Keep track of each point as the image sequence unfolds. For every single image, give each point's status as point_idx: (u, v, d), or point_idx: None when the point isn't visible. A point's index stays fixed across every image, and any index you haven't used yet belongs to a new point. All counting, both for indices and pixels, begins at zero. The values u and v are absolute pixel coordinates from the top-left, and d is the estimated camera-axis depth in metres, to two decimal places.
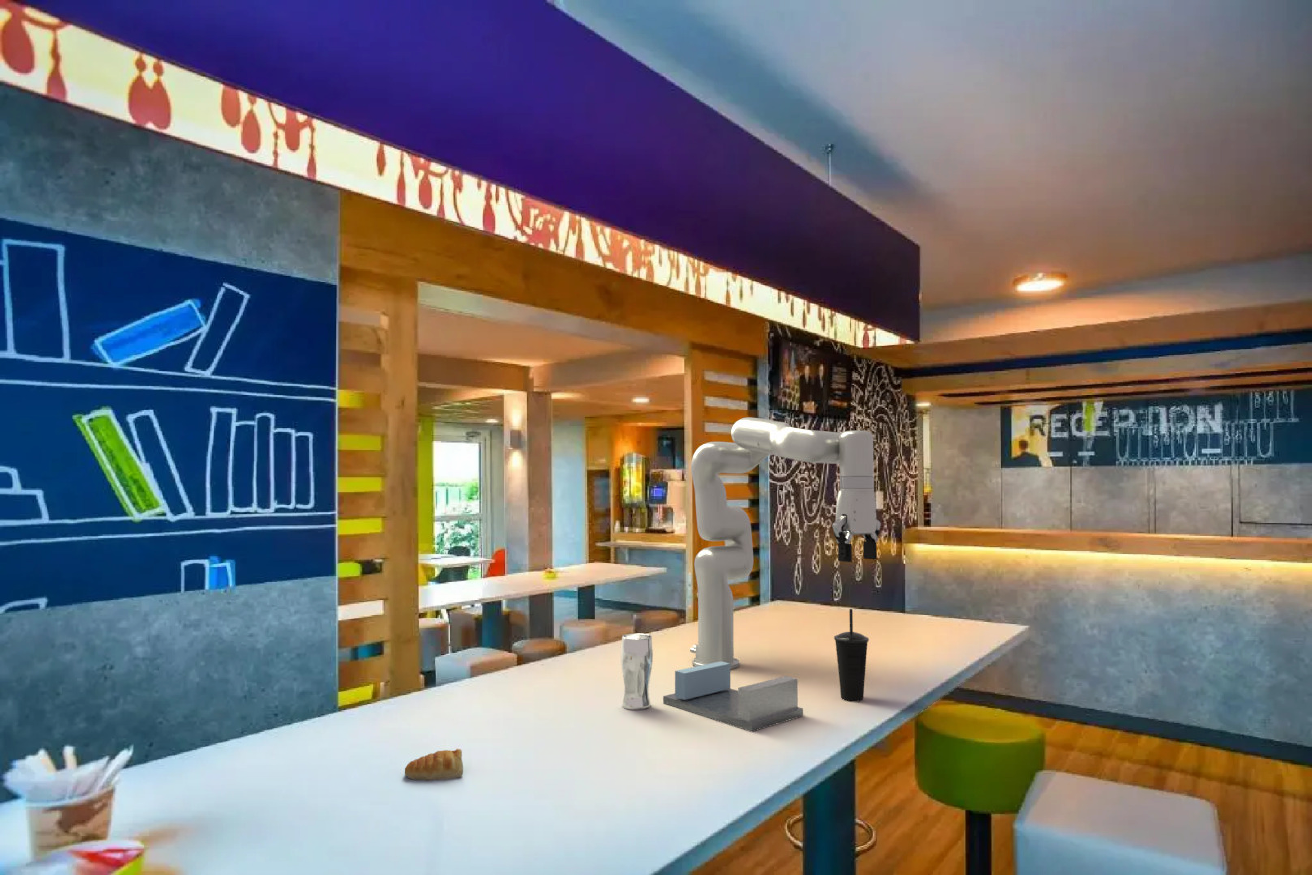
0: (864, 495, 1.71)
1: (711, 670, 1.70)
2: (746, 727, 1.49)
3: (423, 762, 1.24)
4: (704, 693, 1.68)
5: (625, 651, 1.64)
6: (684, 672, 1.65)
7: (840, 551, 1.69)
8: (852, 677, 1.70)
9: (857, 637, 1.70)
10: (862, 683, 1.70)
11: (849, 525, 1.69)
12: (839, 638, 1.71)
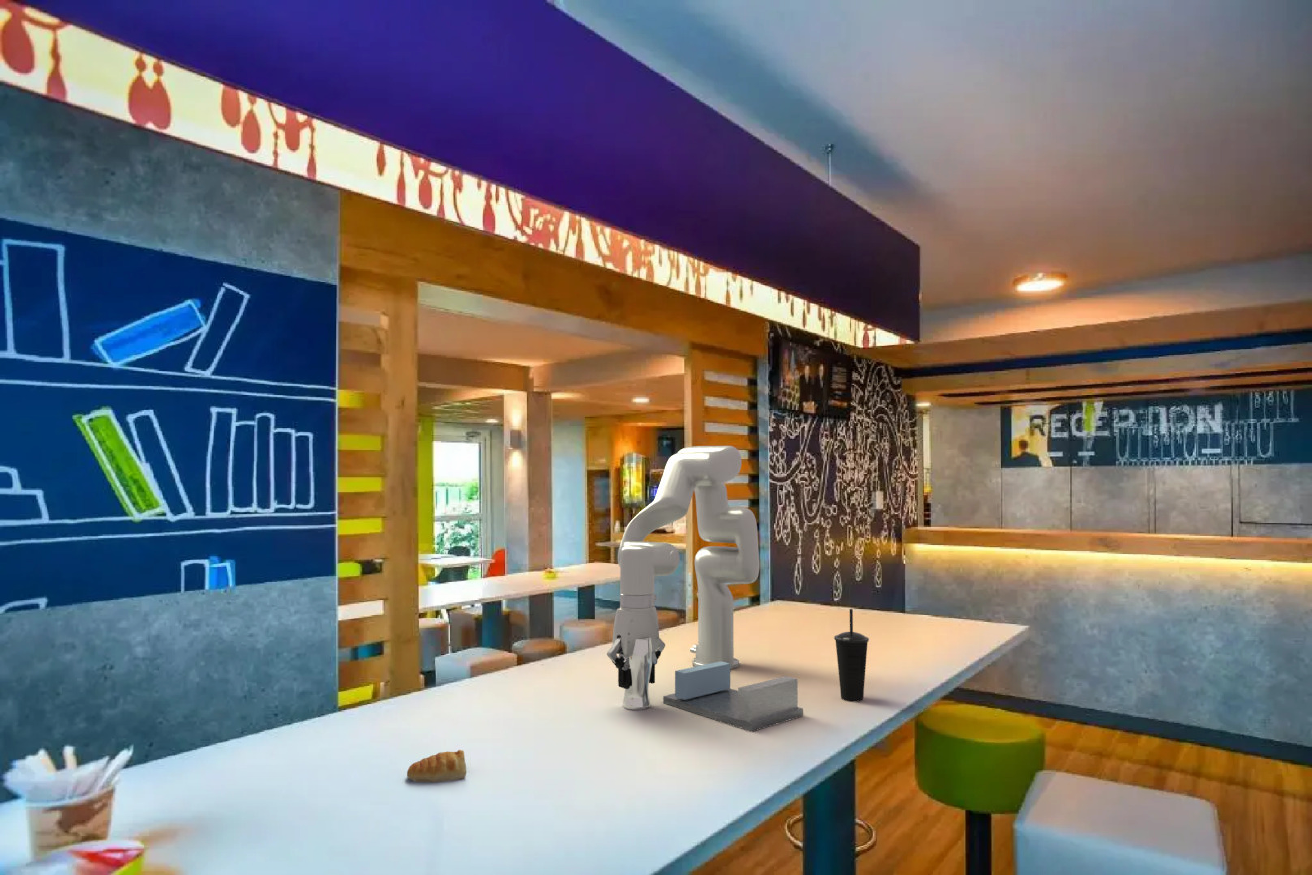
0: (641, 615, 1.64)
1: (711, 670, 1.70)
2: (746, 727, 1.49)
3: (426, 763, 1.23)
4: (704, 693, 1.68)
5: None
6: (684, 672, 1.65)
7: (619, 677, 1.63)
8: (852, 677, 1.70)
9: (857, 637, 1.70)
10: (862, 683, 1.70)
11: (623, 647, 1.62)
12: (839, 638, 1.71)
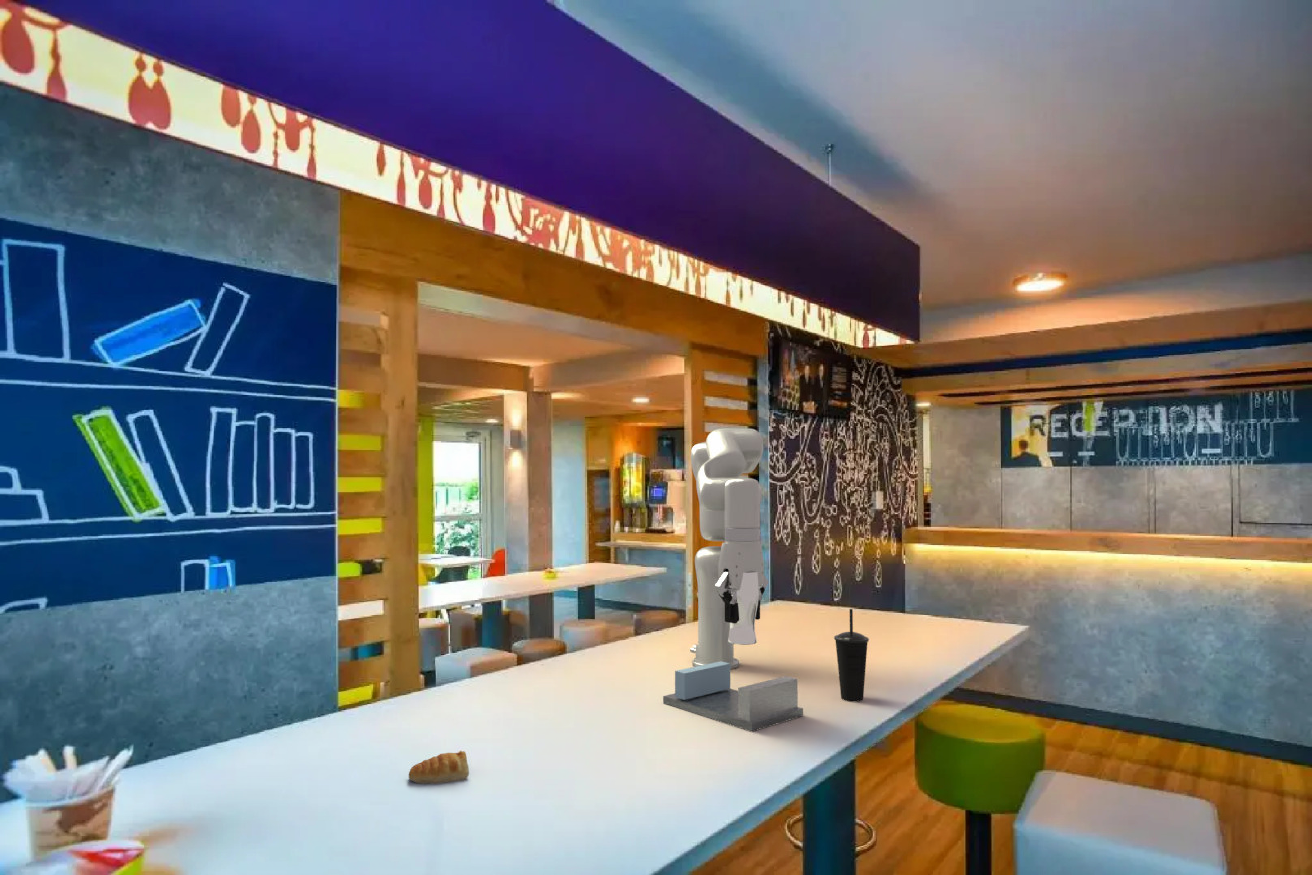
0: (748, 548, 1.61)
1: (711, 670, 1.70)
2: (746, 727, 1.49)
3: (428, 765, 1.23)
4: (704, 693, 1.68)
5: None
6: (684, 672, 1.65)
7: (726, 611, 1.60)
8: (852, 677, 1.70)
9: (857, 637, 1.70)
10: (862, 683, 1.70)
11: (730, 581, 1.58)
12: (839, 638, 1.71)
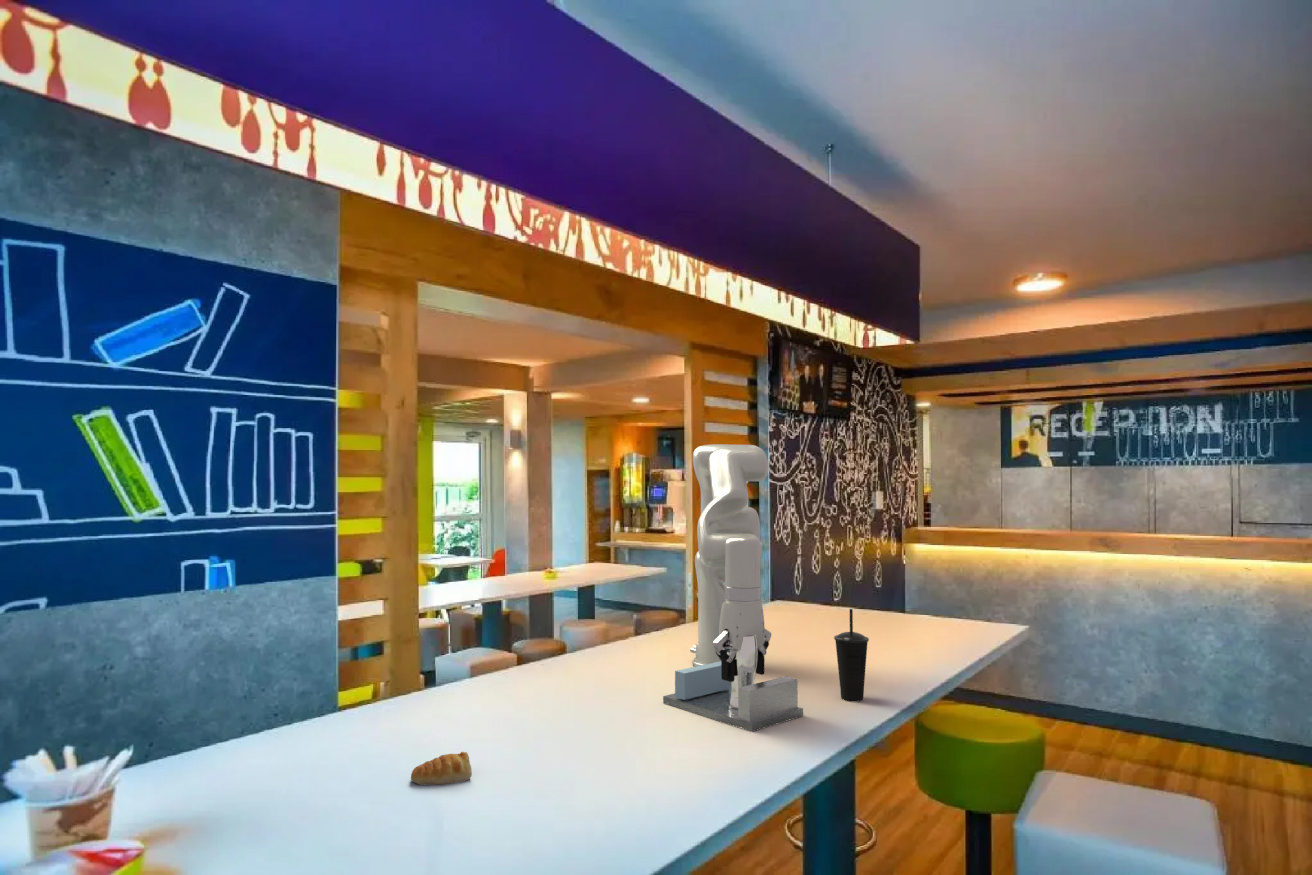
0: (749, 608, 1.60)
1: (711, 670, 1.70)
2: (746, 727, 1.49)
3: (431, 766, 1.22)
4: (704, 693, 1.68)
5: None
6: (684, 672, 1.65)
7: (722, 669, 1.58)
8: (852, 677, 1.70)
9: (857, 637, 1.70)
10: (862, 683, 1.70)
11: (731, 641, 1.57)
12: (839, 638, 1.71)
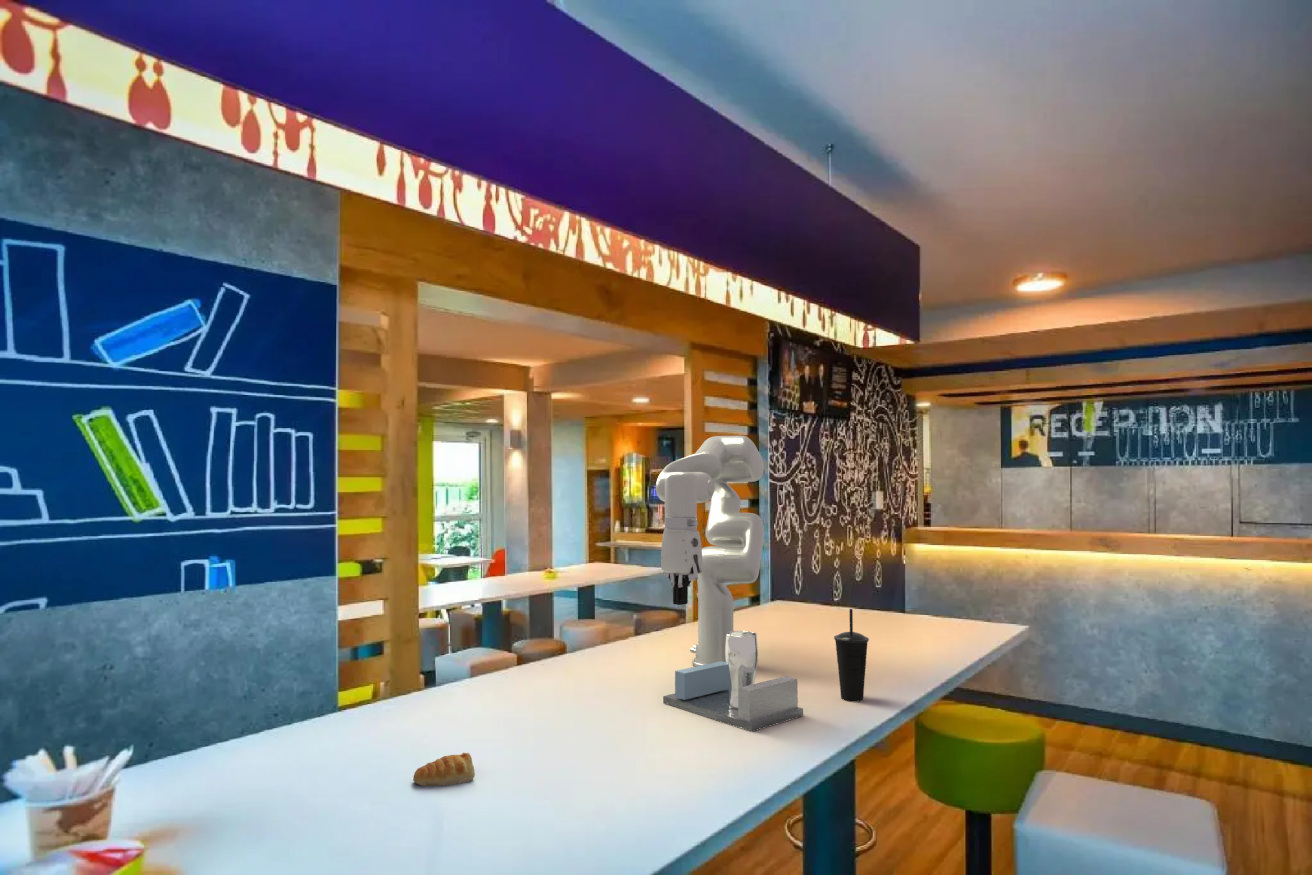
0: (670, 535, 1.77)
1: (711, 670, 1.70)
2: (746, 727, 1.49)
3: (434, 768, 1.21)
4: (704, 693, 1.68)
5: (731, 648, 1.59)
6: (684, 672, 1.65)
7: None
8: (852, 677, 1.70)
9: (857, 637, 1.70)
10: (862, 683, 1.70)
11: None
12: (839, 638, 1.71)
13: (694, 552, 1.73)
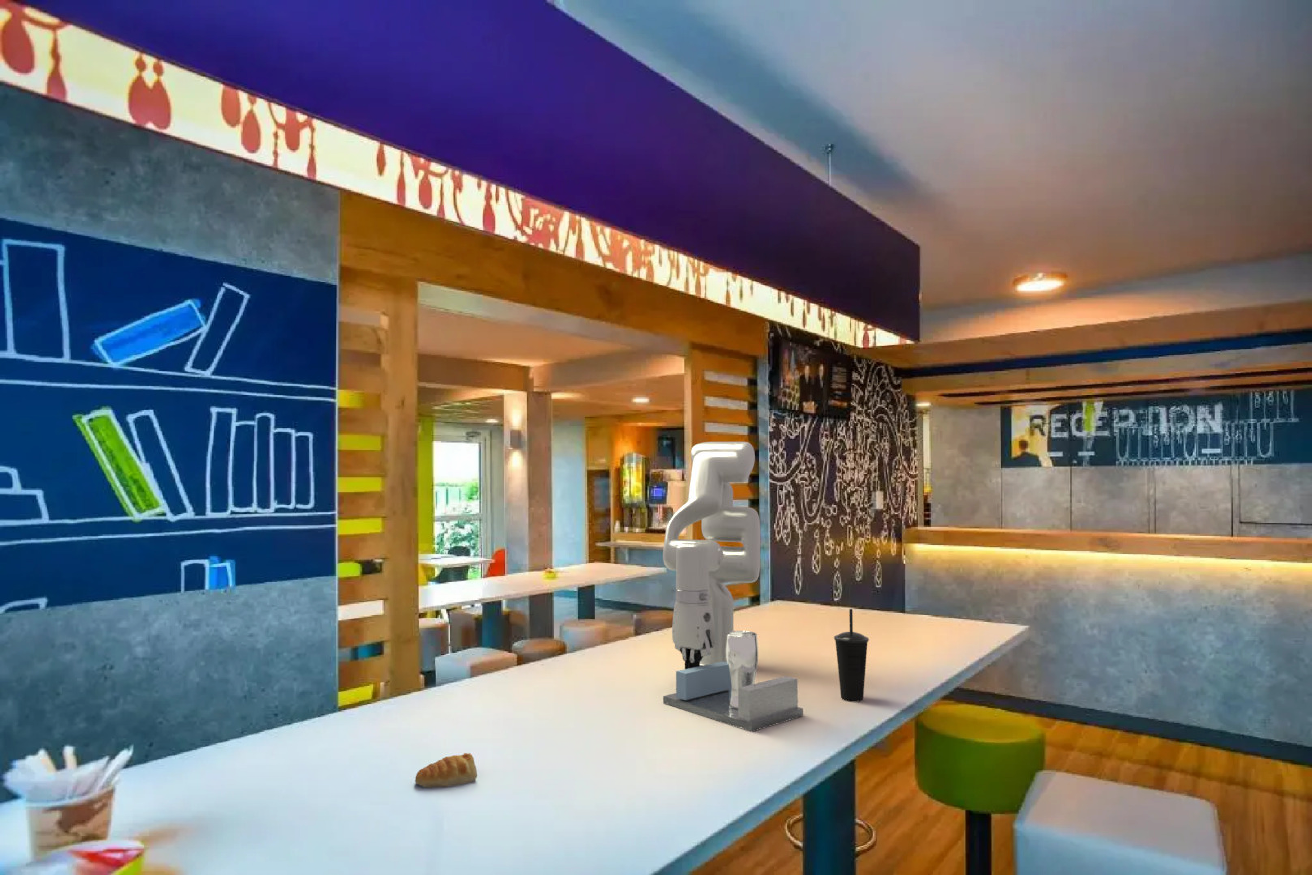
0: (682, 609, 1.73)
1: (712, 671, 1.69)
2: (746, 727, 1.49)
3: (436, 769, 1.21)
4: (705, 693, 1.68)
5: (731, 648, 1.59)
6: (685, 672, 1.65)
7: None
8: (852, 677, 1.70)
9: (857, 637, 1.70)
10: (862, 683, 1.70)
11: None
12: (839, 638, 1.71)
13: (706, 627, 1.69)
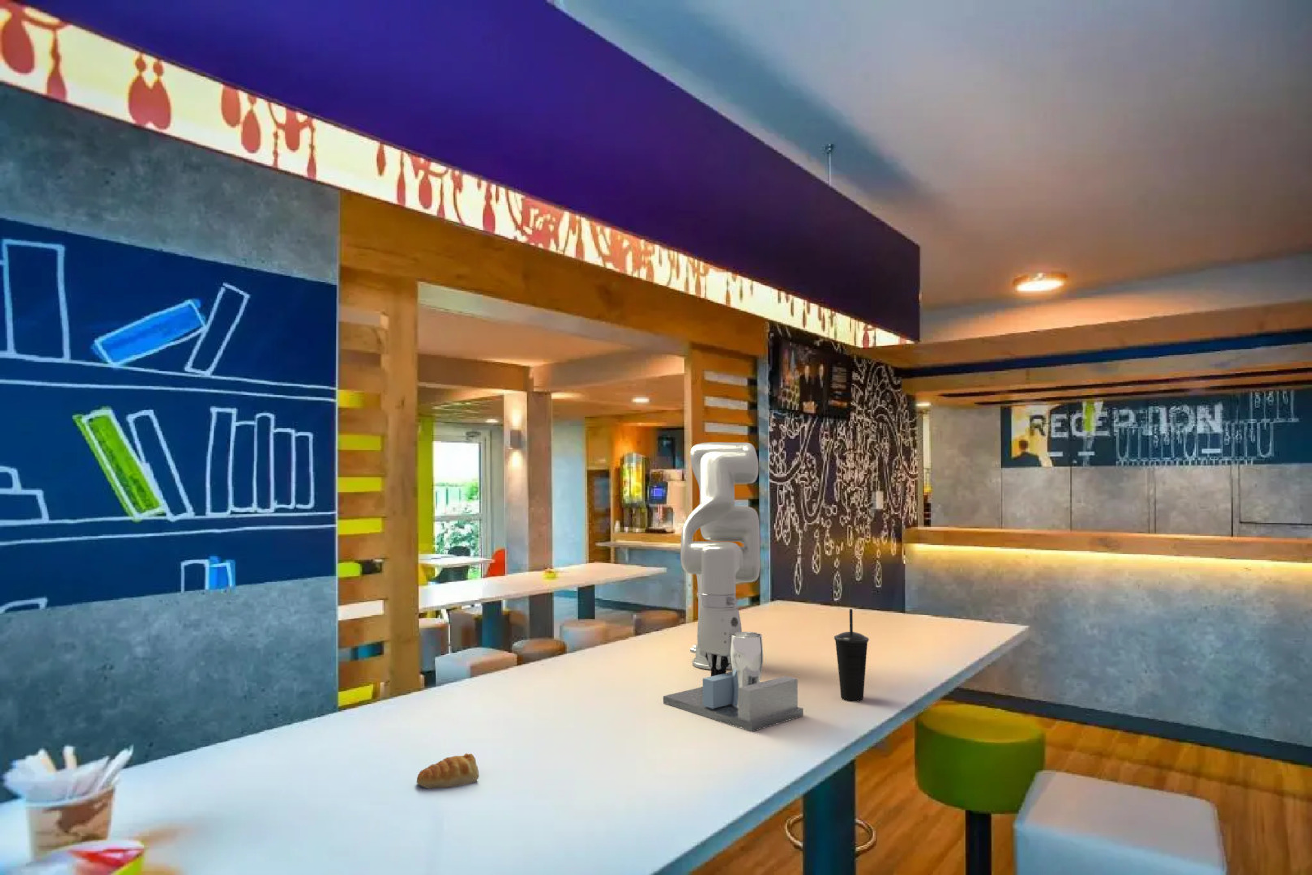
0: (708, 613, 1.66)
1: None
2: (746, 727, 1.49)
3: (438, 769, 1.21)
4: None
5: (736, 650, 1.58)
6: (712, 680, 1.59)
7: None
8: (852, 677, 1.70)
9: (857, 637, 1.70)
10: (862, 683, 1.70)
11: None
12: (839, 638, 1.71)
13: (733, 632, 1.63)
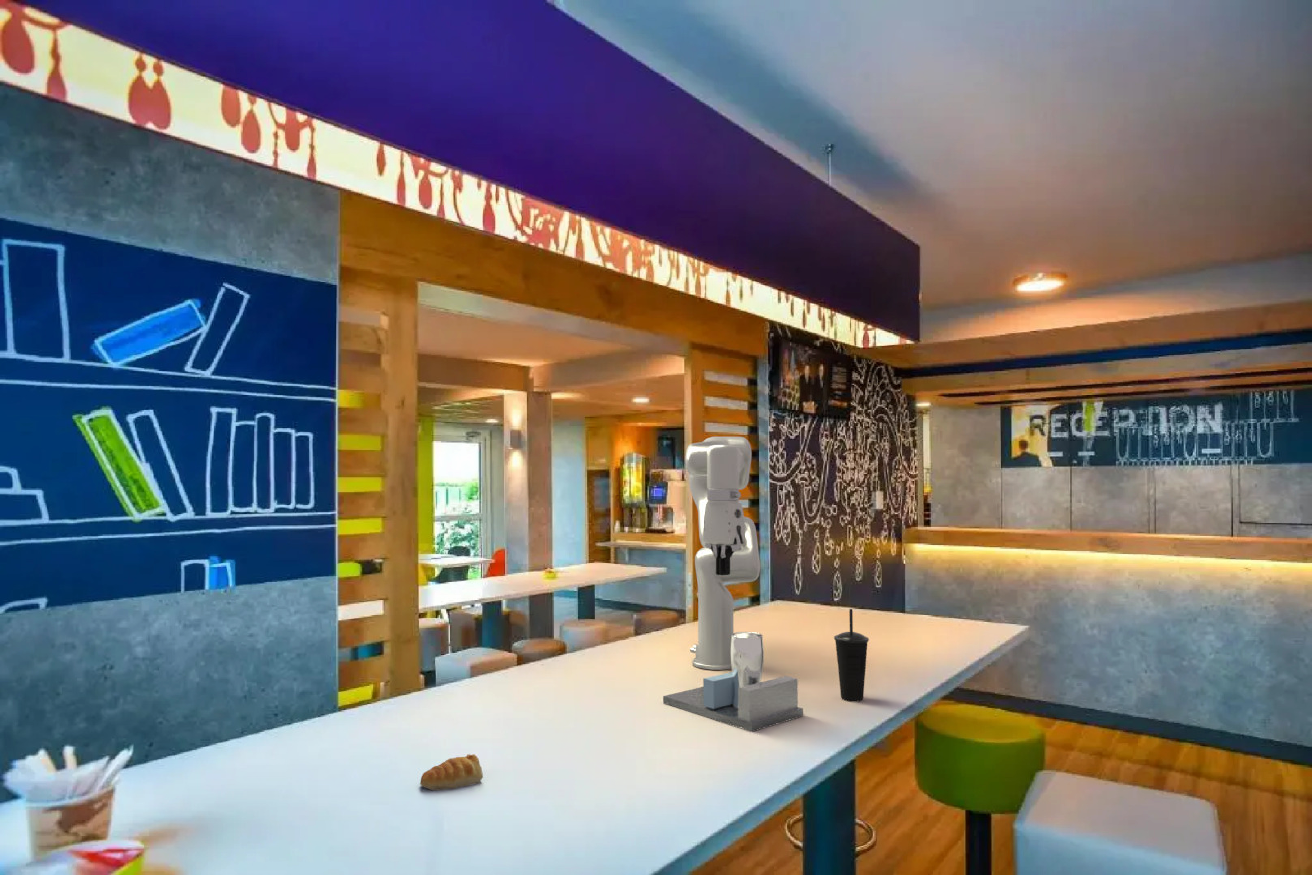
0: (713, 507, 1.79)
1: None
2: (746, 727, 1.49)
3: (443, 770, 1.20)
4: None
5: (736, 650, 1.58)
6: (713, 680, 1.59)
7: None
8: (852, 677, 1.70)
9: (857, 637, 1.70)
10: (862, 683, 1.70)
11: None
12: (839, 638, 1.71)
13: (737, 523, 1.76)
